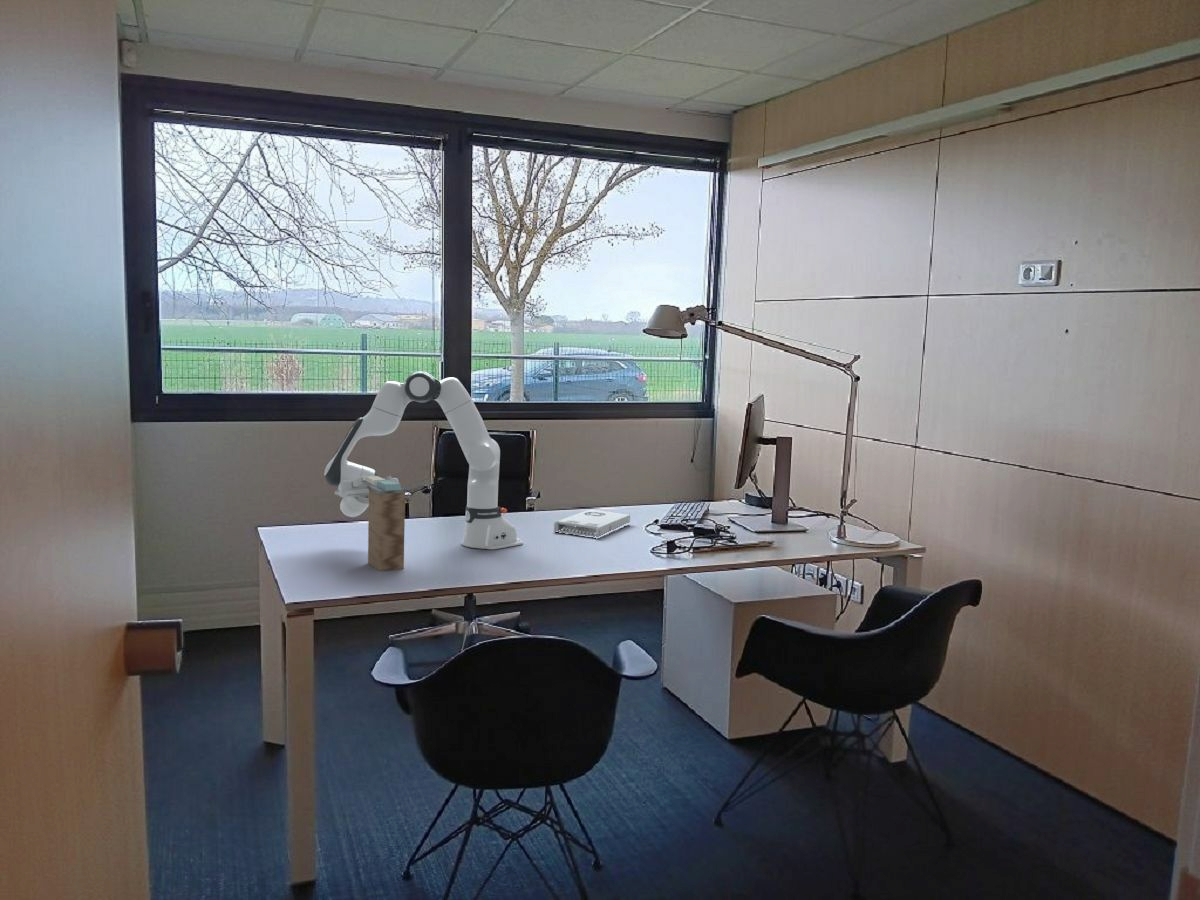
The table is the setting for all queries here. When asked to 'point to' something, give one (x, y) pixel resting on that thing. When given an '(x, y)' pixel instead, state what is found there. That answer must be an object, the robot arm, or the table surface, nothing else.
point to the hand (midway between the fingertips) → (375, 478)
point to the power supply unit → (591, 523)
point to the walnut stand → (386, 528)
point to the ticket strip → (383, 483)
